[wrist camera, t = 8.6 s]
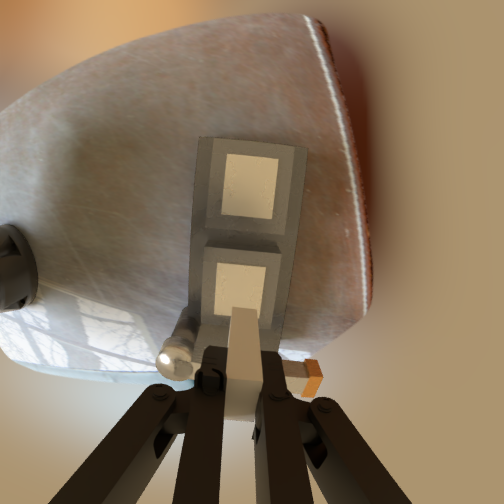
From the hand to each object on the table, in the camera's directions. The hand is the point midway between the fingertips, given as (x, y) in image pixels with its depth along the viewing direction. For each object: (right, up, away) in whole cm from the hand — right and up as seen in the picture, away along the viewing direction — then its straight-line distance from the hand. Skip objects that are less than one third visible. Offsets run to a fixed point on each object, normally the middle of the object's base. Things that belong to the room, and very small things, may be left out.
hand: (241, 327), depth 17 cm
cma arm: (-1, -8, +13) cm, 15 cm away
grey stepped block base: (-1, +5, +18) cm, 19 cm away
